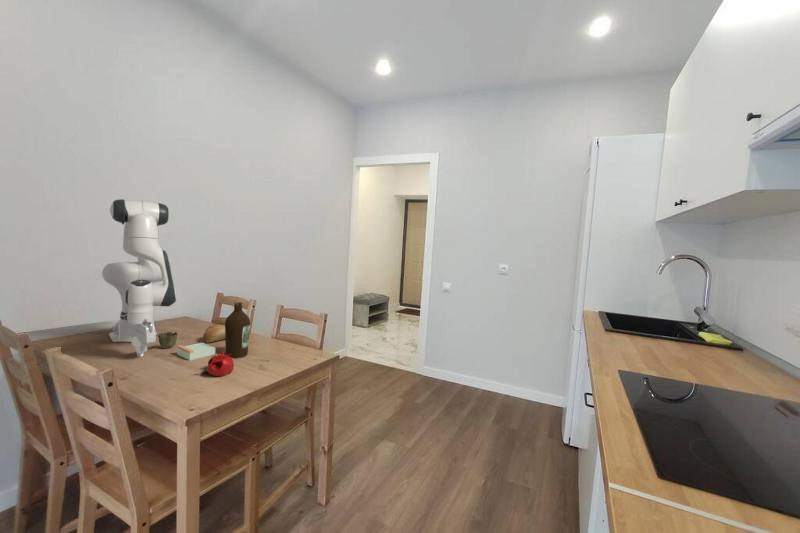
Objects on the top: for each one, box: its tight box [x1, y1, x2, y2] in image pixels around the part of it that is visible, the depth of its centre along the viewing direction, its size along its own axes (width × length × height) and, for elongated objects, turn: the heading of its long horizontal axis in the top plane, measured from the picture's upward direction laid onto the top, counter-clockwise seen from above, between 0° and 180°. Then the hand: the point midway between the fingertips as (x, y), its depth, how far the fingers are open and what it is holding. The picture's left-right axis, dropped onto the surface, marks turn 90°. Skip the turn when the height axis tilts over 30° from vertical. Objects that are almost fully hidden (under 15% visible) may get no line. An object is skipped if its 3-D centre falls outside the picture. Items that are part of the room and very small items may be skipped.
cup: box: [157, 331, 178, 349], centre depth 158 cm, size 8×7×8 cm
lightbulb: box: [130, 336, 145, 357], centre depth 146 cm, size 6×6×11 cm
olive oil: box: [224, 301, 251, 359], centre depth 157 cm, size 11×11×25 cm
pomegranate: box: [206, 350, 235, 377], centre depth 137 cm, size 10×10×9 cm
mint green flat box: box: [176, 341, 216, 361], centre depth 152 cm, size 11×11×4 cm
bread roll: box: [202, 324, 225, 344], centre depth 177 cm, size 10×15×8 cm, turn 156°
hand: (140, 349), depth 146 cm, fingers closed on lightbulb, 5 cm apart
